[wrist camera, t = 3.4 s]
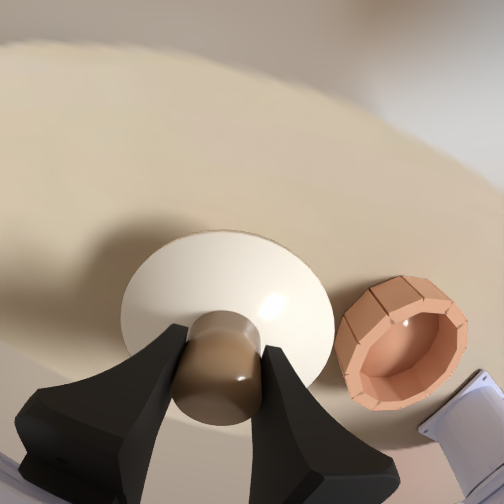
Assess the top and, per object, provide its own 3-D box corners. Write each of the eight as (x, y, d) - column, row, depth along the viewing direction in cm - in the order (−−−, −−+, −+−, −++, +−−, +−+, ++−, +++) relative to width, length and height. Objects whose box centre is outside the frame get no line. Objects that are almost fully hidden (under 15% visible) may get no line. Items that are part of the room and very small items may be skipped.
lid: (372, 318, 13) (406, 373, 9) (243, 428, 15) (240, 486, 11) (203, 180, 11) (176, 194, 7) (96, 336, 13) (58, 387, 10)
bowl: (461, 319, 18) (483, 341, 15) (382, 395, 20) (395, 423, 17) (402, 250, 16) (427, 269, 13) (309, 347, 18) (317, 379, 15)
